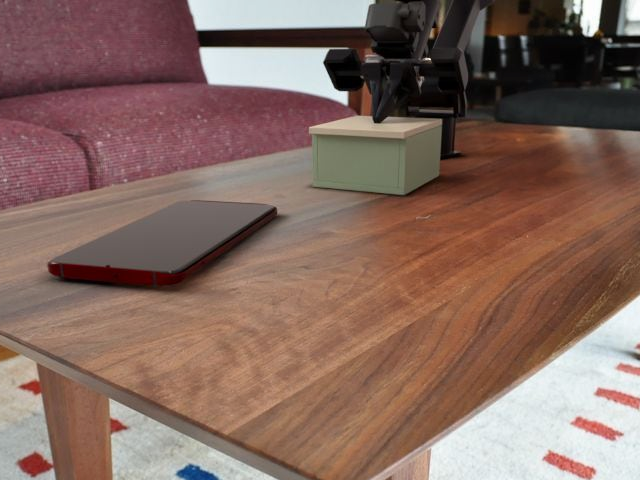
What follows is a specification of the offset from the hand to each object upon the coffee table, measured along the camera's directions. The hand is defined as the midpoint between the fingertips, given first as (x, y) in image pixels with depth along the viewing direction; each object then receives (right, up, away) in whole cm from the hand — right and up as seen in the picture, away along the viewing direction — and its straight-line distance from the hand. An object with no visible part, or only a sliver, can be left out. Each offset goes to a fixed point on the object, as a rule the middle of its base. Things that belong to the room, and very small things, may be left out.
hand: (375, 121), depth 86 cm
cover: (0, -1, +1) cm, 1 cm away
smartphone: (-21, -18, -22) cm, 35 cm away
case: (+1, -7, +4) cm, 8 cm away
